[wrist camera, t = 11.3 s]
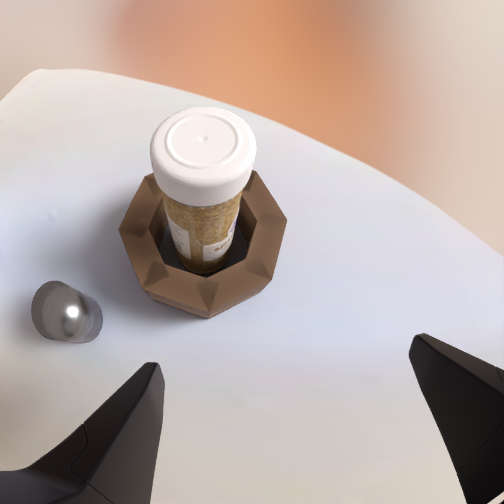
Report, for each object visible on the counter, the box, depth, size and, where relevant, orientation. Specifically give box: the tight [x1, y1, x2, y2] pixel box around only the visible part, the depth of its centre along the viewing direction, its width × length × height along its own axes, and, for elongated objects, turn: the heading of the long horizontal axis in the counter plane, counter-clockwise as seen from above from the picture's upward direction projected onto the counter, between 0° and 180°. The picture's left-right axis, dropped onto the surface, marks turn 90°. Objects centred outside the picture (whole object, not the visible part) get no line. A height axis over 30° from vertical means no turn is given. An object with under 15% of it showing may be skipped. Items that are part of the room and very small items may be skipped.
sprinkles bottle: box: [150, 107, 256, 274], centre depth 17 cm, size 5×5×13 cm
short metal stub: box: [31, 281, 103, 343], centre depth 18 cm, size 4×4×5 cm
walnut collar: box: [118, 170, 287, 319], centre depth 22 cm, size 11×11×4 cm
